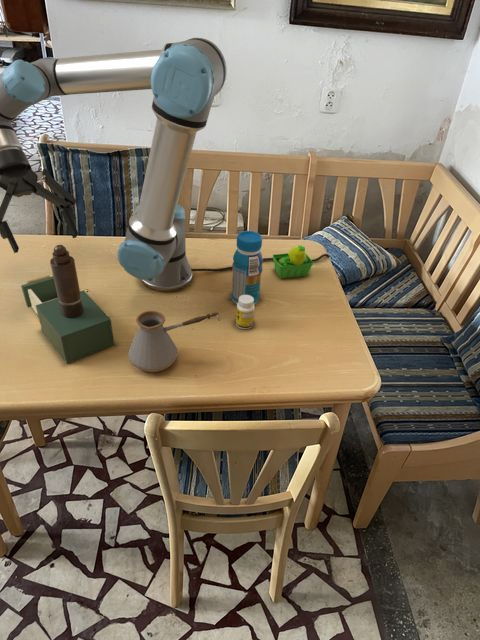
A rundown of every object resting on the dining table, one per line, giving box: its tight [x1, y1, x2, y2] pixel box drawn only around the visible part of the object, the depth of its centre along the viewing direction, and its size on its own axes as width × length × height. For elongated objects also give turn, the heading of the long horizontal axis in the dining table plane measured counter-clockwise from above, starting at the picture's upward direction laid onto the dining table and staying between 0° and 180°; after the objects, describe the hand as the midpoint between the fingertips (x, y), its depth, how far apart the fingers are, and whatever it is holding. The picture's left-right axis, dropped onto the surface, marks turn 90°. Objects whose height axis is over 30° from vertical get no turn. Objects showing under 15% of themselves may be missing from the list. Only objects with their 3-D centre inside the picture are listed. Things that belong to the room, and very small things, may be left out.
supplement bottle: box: [235, 295, 256, 330], centre depth 129 cm, size 5×5×8 cm
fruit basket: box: [272, 244, 314, 279], centre depth 150 cm, size 11×9×11 cm
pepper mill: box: [49, 244, 84, 318], centre depth 110 cm, size 5×5×18 cm
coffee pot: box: [127, 310, 221, 373], centre depth 113 cm, size 21×12×15 cm, turn 95°
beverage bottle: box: [230, 230, 264, 305], centre depth 134 cm, size 8×8×20 cm
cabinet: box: [36, 290, 115, 364], centre depth 119 cm, size 15×12×8 cm
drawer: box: [20, 274, 58, 316], centre depth 126 cm, size 18×11×6 cm, turn 40°
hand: (47, 243), depth 111 cm, fingers open, 13 cm apart
